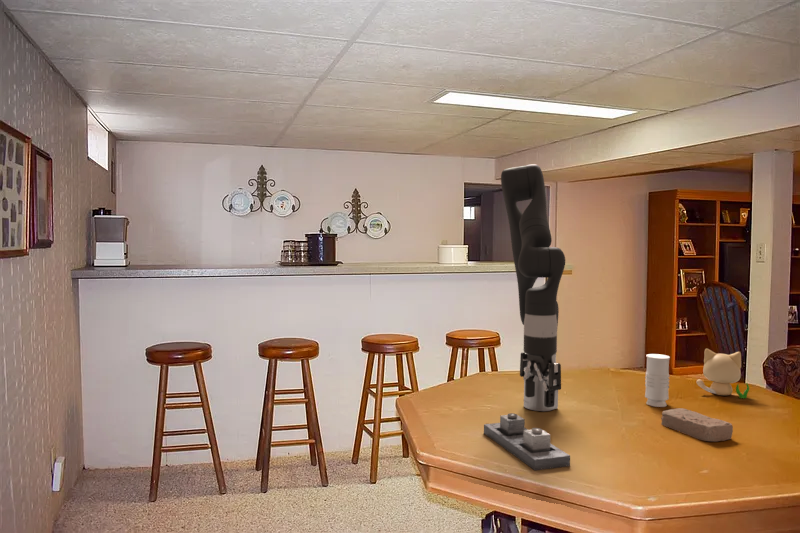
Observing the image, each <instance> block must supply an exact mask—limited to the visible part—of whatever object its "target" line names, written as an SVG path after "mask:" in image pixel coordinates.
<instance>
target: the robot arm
mask: <svg viewBox="0 0 800 533" xmlns="http://www.w3.org/2000/svg"><path fill="white" fill-rule="evenodd" d="M500 184H501V185H500V186H501V190H502V195H503V199H504V205H505V209H506V215H507V219H508V225H509V232H510V243H511V251H512V257H513V262H514V263H513V264H514V269H515V274H516V281H517V288H518V291H517V292H518V303H519V304H518V305H519V316H520V321H521V323H522V325H523V352H521V353H520V360H519V376H520V377H522V379H523V407H524V408H525V409H527V410H531V411H535V412H550V411H553V410H555V409H558V408H559V391H560V390H561V389H562V366H561V365H562V364H561V363H560V362H557V350H558V349H557V348H558V347H557V346H558V325H559V311H560V310H559V309H560V308H559V302H558V301H557V300H558V299H557V298H558V297H557V296H558V290H559V287H560V283H561V280H562V276H563V274H564V270H565V265H566V257H565V253H564V252H563V250H562V249H561V248H559V247H555V246H551V245H552V234H551V230H550V225H549V220H548V215H547V212H548V210H547V197H546V196H547V195H546V185H545V178H544V174H543V171H542V168H541V166H539V165H538V164H535V163H533V164H526V165H521V166H515V167H514V166H513V167H509V168H505V169H503V170H502V172H501V175H500ZM529 200H531V201H530V202H529V204H528V205H527V206H526V208H525V210H524V211H523V212H522V211H521V209H520V207H519V205H518V202H523V201H524V202H525V201H529ZM539 278H543V279H544V278H547V279H546V281H545V283H544V284H542V285H540V286H536V287H534V285H535V283H536V282H537V280H538V279H539Z"/></svg>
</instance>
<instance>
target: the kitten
mask: <svg viewBox="0 0 800 533" xmlns="http://www.w3.org/2000/svg"><path fill="white" fill-rule="evenodd" d="M703 363H704V364H703V367H702V368H703V369H702V372H703V374H702V375H703V376H704V377H705V378H706V379H707V380H708V381H711V382H712V383H711V385H710V387H708V386H706V385H705V382H704V381H703V380H702V379H700V378H699V379H697V380H696V385H697V386H698V387H700V388H701V389H703V390H704V391H706V392H708V393H711V394H715V395H717V396H730V395H732V394H733V387H732V384H734V383H737V382H739V381H740V379H741V377H742V374H741V368H742V353H741V351H735V352H734V353H730V354H727V353H720V352H719V353H716V352H714V351H713V350H711V349H709V348H705V349H704V358H703ZM745 384H746V389H745V390H744V391H743V393H742V392H741V391H740V388H739V387H740V386H739V383H737V384H736V387H735V392H736V394H737V396H738V398H739V399H742V398H743V399H746V398H747V397H748V393H749V391H750V386H749V384H748V383H747V382H745Z"/></svg>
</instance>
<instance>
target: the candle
mask: <svg viewBox="0 0 800 533" xmlns="http://www.w3.org/2000/svg"><path fill="white" fill-rule="evenodd" d="M645 355H646V356H645V357H646V371H645V377H644V378H645V381H644V382H645V384H644V386H645V394H644V398H646V399H647V400H646V405H649V406H651V407H656V408H657V407H658V408H659V407H660V408H665V407H667V406H668V405H667V402H666V401H668V400H669V399H670V398H669V389H670V376H671V375H670V374H669V370H670V366H669V364H670V359H671V356H669V355H666V354H659V353H648V354H645Z"/></svg>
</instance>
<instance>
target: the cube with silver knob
mask: <svg viewBox="0 0 800 533" xmlns="http://www.w3.org/2000/svg"><path fill="white" fill-rule="evenodd" d="M550 443H551V434H550V433H548V432H547V431H546V430H544V429H542V428H540V427H532V428H531V429H528V430H524V435H523V448H524V449H526V450H527V451H529V452H530V453H539V452H548V451H550Z"/></svg>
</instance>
